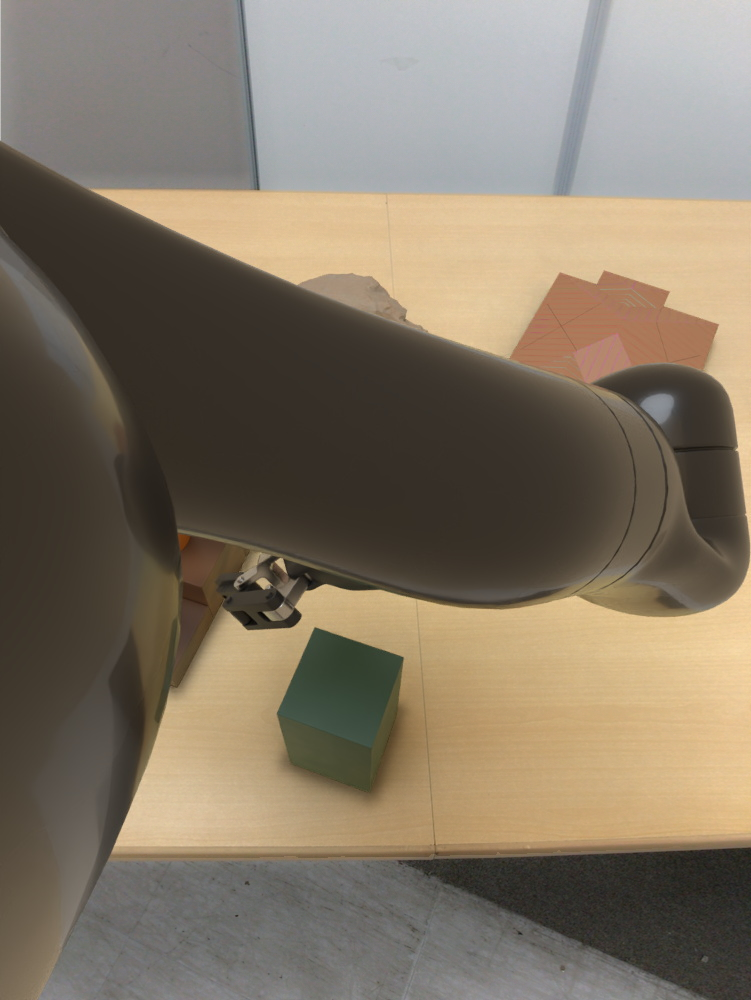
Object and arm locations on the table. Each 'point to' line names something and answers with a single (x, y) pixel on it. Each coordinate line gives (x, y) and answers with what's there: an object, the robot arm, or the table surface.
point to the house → (610, 329)
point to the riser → (201, 593)
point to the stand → (341, 708)
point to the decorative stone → (360, 295)
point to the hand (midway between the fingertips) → (258, 544)
